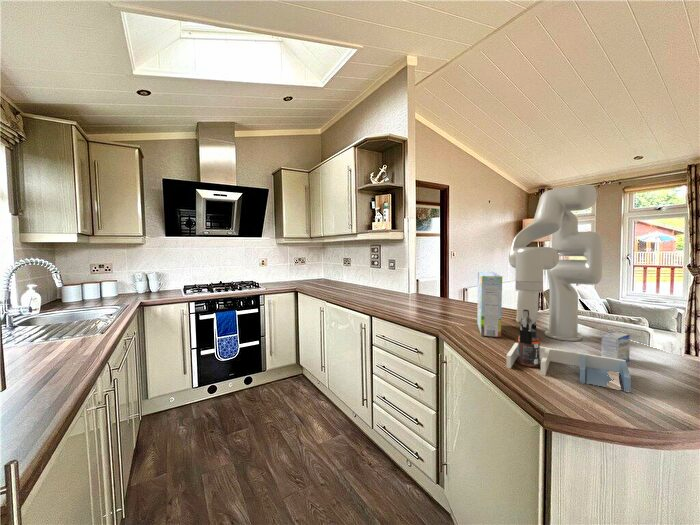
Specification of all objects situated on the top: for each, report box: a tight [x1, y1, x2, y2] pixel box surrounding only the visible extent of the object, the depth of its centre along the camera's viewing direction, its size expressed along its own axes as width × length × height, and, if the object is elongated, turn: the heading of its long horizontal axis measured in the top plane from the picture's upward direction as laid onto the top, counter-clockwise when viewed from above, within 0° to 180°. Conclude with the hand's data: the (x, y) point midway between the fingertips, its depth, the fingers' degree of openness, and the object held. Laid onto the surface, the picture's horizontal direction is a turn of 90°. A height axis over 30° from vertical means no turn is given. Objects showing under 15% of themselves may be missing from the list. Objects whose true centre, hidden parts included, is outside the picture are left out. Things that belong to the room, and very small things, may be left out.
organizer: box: [505, 342, 632, 392], centre depth 92 cm, size 15×29×4 cm, turn 52°
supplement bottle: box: [517, 329, 541, 368], centre depth 97 cm, size 6×6×11 cm
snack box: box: [476, 271, 503, 338], centre depth 135 cm, size 22×9×26 cm, turn 161°
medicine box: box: [601, 331, 631, 362], centre depth 97 cm, size 8×4×9 cm, turn 117°
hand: (528, 339), depth 96 cm, fingers open, 9 cm apart
